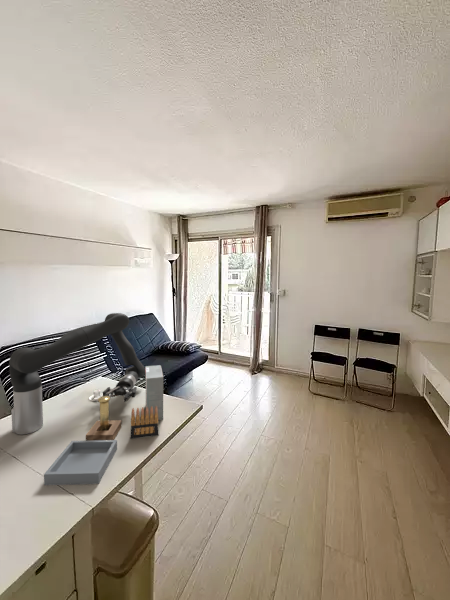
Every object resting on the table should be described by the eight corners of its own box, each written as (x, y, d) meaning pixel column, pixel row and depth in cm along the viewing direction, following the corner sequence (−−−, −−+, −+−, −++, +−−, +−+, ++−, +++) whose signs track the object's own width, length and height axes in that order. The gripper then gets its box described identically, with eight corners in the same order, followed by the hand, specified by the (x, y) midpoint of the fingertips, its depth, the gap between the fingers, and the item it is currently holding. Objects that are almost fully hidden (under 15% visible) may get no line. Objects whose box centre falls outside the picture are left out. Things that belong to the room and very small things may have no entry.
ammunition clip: (158, 432, 105) (158, 404, 104) (158, 435, 104) (158, 406, 102) (130, 435, 103) (130, 407, 102) (130, 438, 101) (130, 409, 100)
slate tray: (44, 485, 78) (43, 474, 77) (72, 449, 94) (71, 440, 93) (98, 483, 79) (98, 473, 78) (117, 449, 95) (117, 440, 94)
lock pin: (96, 438, 101) (96, 401, 99) (101, 431, 105) (100, 395, 104) (108, 437, 101) (107, 401, 100) (112, 431, 105) (111, 395, 104)
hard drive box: (145, 405, 127) (145, 366, 125) (161, 403, 130) (161, 364, 128) (145, 422, 112) (145, 378, 111) (163, 419, 115) (164, 376, 113)
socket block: (85, 442, 98) (85, 435, 97) (97, 427, 108) (97, 420, 107) (112, 442, 98) (112, 434, 98) (121, 427, 108) (121, 420, 108)
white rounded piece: (100, 402, 129) (100, 394, 129) (84, 402, 129) (84, 394, 129) (108, 394, 138) (108, 387, 138) (93, 394, 138) (93, 387, 138)
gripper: (111, 377, 129) (97, 391, 113) (140, 377, 130) (131, 391, 114) (111, 391, 129) (98, 408, 113) (140, 391, 130) (131, 407, 114)
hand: (114, 399), depth 113 cm, fingers open, 8 cm apart
